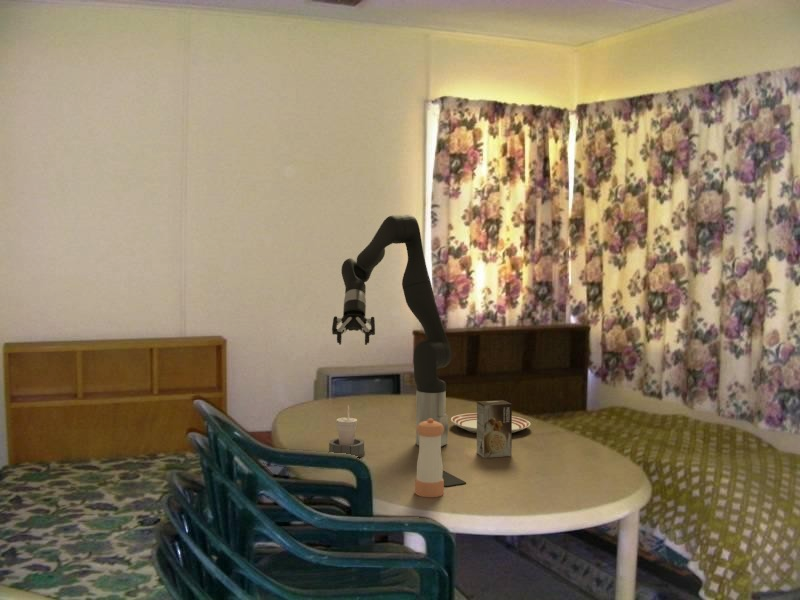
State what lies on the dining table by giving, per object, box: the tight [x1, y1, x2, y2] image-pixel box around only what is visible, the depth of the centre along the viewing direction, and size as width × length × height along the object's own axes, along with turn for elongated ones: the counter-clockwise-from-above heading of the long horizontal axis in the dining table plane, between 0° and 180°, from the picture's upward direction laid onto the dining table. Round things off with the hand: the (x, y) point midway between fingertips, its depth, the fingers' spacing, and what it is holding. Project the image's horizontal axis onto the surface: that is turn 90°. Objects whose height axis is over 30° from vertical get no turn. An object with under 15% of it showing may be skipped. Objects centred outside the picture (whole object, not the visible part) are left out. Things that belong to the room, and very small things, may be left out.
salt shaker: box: [414, 418, 445, 498], centre depth 198 cm, size 7×7×19 cm
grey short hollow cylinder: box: [328, 437, 366, 458], centre depth 235 cm, size 11×11×4 cm
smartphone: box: [442, 470, 467, 488], centre depth 212 cm, size 7×1×15 cm
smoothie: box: [335, 405, 358, 445], centre depth 234 cm, size 6×6×14 cm
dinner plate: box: [450, 412, 532, 434], centre depth 270 cm, size 27×27×3 cm
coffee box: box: [476, 399, 513, 459], centre depth 236 cm, size 9×6×16 cm
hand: (353, 343), depth 256 cm, fingers open, 8 cm apart
